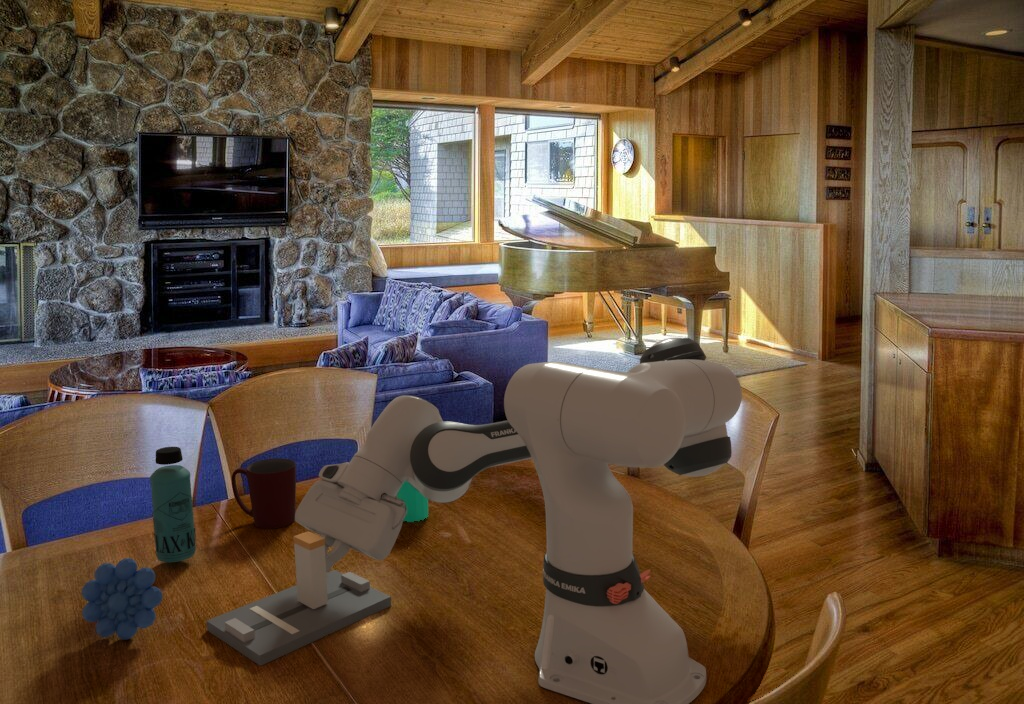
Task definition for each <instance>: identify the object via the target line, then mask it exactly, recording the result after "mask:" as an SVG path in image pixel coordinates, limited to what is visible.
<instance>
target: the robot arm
mask: <svg viewBox="0 0 1024 704" xmlns="http://www.w3.org/2000/svg"><path fill="white" fill-rule="evenodd" d="M706 359H707V355H706V354H705V352H704V350H703V348H702V347H701V345H700V344H699V343H698V342H696V341H695V340H693V339H691V338H689V337H668V338H665V339H661V340H659V341H658V342H656V343H654V344H652V346H650V347H649V348H647V349H645V350H644V352H643V353H642V355H641V356H640V359H639V363H638V364H636V365H634V366H633V367H631V368H630V369H629V370H627V372H626V371H617V370H609V369H602V368H595V367H590V366H584V365H579V364H573V363H568V362H563V361H544V362H535V363H528V364H525V365H524V366H522V367H520V368H519V369H517V370H516V372H514V374H513V375H512V376H511V377H510V379H509V381H508V384H507V385H506V389H505V392H504V396H503V398H504V399H503V407H504V409H503V410H504V413H505V417H506V419H507V420H503V421H496V422H493V423H492V422H491V423H487V424H467V423H462V422H457V421H451V420H450V421H447V420H446V421H444V420H443V419H442V416H441V415H440V411H439V409H438V408H437V406H435V405H434V404H433V403H431V402H430V401H428V400H427V399H424V398H422V397H419V396H415V395H411V394H410V395H409V394H407V395H406V394H405V395H404V394H403V395H400V396H397V397H395V398H394V399H393V400H391V401H390V402H389V403H388V404H387V405H386V406H385V407H384V409H383V410H382V411H381V413H380V414H379V415H378V417H377V419H376V420H375V422H374V423H373V424H372V426H371V427H370V429H369V430H368V432H367V435H366V439H365V441H364V444H363V445H362V446H361V447H360V449H359V450H358V451H357V452H356V453H355V454H354V455H353V456H352V458H351V459H350V461H349V462H348V461H347V462H341V463H336V464H326V465H324V466H323V467H322V468H321V469H320V471H319V472H318V478H320V479H319V480H317V481H315V482H314V483H313V484H312V485H311V486H310V487H309V489H308V491H307V492H306V494H305V495H304V497H303V498H302V500H301V502H300V503H299V505H298V506H297V508H296V509H295V520H294V522H296V523H297V524H299V525H300V526H302V527H304V528H305V529H307V531H310V532H312V533H313V532H314V534H316V535H318V536H321V537H323V538H325V560H326V573H328V572H330V571H332V568H333V566H334V565H335V564H336V563H337V562H339V561H340V560H342V558H344V557H345V556H347V554H348V552H349V551H350V549H351V550H353V551H356V552H358V553H360V554H363V555H365V556H368V557H370V558H371V559H374V560H376V561H379V562H380V561H383V560H384V559H386V558H388V556H389V555H390V553H391V551H392V549H393V547H394V546H395V543H396V541H397V538H398V536H399V534H400V531H401V529H402V527H403V522H404V521H403V520H404V518H405V516H406V514H407V508H406V505H405V502H404V501H403V500H401V499H397V493H398V491H399V490H400V488H401V486H402V485H403V483H404V482H405V481H407V482H408V483H409V484H410V485H412V486H413V487H414V488H415V489H416V490H417V491H419V492H420V493H421V494H422V495H423V496H424V497H426V498H427V499H428V501H432V502H435V503H438V504H449V503H452V502H455V501H458V500H459V499H461V497H463V496H464V495H465V494H466V493H467V491H468V489H469V488H470V486H471V484H472V481H473V479H474V477H475V476H476V475H477V476H478V474H480V472H483V471H484V470H486V469H487V470H488V469H489V468H493V467H497V466H502V465H507V464H508V465H509V464H511V463H516V462H522V461H527V460H532V462H533V464H534V467H535V471H536V473H537V475H538V479H539V482H540V486H541V489H542V494H543V499H544V501H543V502H544V507H545V510H544V511H545V526H546V527H545V528H546V533H545V534H546V552H545V553H544V554H543V563H542V564H543V567H542V576H543V577H542V581H543V585H544V587H545V599H544V609H543V617H542V623H541V630H540V634H539V638H538V643H537V645H536V648H535V650H534V660H535V664H536V665H537V668H538V670H539V671H538V678H537V679H538V680H537V681H538V685H539V687H542V688H544V689H546V690H550V691H552V692H555V693H558V694H562V695H564V696H568V697H570V698H575V699H577V700H579V701H583V702H586V703H589V704H690V703H692V701H694V700H695V699H696V698H697V697H698V696H699V695H700V694H701V692H702V691H703V690H704V688H705V687H706V683H707V679H708V678H707V669H706V666H704V665H703V664H701V663H700V662H699V661H696V660H694V659H693V658H691V657H689V656H690V655H689V649H688V642H687V638H686V635H685V631H684V630H683V628H682V627H681V626H680V625H679V624H678V623H677V622H676V621H675V619H673V618H672V617H671V616H670V615H669V613H668V612H667V611H666V610H665V609H663V607H662V606H660V604H659V603H658V602H657V601H656V600H655V599H654V598H653V596H652V595H650V594H649V592H648V591H647V590H646V589H645V584H644V582H646V581H647V580H649V579H650V578H651V575H649V574H650V573H651V571H652V570H651V569H650V568H648V569H646V570H645V571H643V572H642V573H641V571H640V569H639V568H640V567H639V565H638V562H637V559H636V558H635V555H634V554H633V539H634V537H633V536H634V535H633V534H634V528H633V527H634V507H633V501H632V498H631V496H630V494H629V493H628V491H627V490H626V488H625V487H624V486H623V485H622V483H621V482H620V481H619V480H618V479H617V478H616V477H615V475H614V474H613V472H612V470H611V469H610V466H609V465H615V466H619V467H629V468H658V467H659V468H660V467H662V466H664V467H665V468H666V469H667V470H668V471H671V472H672V473H674V474H676V475H679V476H687V477H692V478H693V477H695V478H696V477H697V478H698V477H704V476H708V475H710V474H713V473H714V472H716V471H718V470H719V469H720V468H722V467H723V466H724V464H727V463H729V461H730V459H731V458H732V455H733V454H732V441H731V436H728V430H727V422H729V421H730V420H731V419H733V418H734V416H735V415H736V414H737V413H738V411H739V409H740V407H741V405H742V397H743V392H742V386H741V383H740V381H739V378H738V377H737V376H736V375H735V373H734V372H733V371H732V370H731V369H730V368H729V367H727V366H725V365H723V364H721V363H717V362H714V361H709V360H706ZM402 507H404V508H402ZM332 547H333V548H332ZM329 548H332V549H331V550H330V551H329ZM328 551H329V552H328Z"/></svg>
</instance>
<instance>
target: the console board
mask: <svg viewBox="0 0 1024 704" xmlns="http://www.w3.org/2000/svg"><path fill="white" fill-rule="evenodd" d="M326 578H327V596H328V603H327V604H325V605H323V606H320V607H318V608H316V609H312V608H310V607H308V606H306V605H304V604H303V603H301V602H299V601H298V596H297V584H295V585H293V586H289V587H288V588H285V589H283V590H280V591H278V592H275V593H273V594H271V595H268V596H266V597H263V598H260V599H257V600H255V601H252V602H250V603H248V604H245V605H243V606H240V607H237V608H234V609H233V610H230V611H227V612H225V613H222V614H219V615H217V616H214V617H212V618H209V619H207V620H206V629H207V630H206V631H208V632H209V633H210V634H212V635H213V636H215V637H216V638H218V639H220V640H221V641H223V643H225V644H227V645H228V646H230V647H231V648H233V649H234V650H236V651H237V652H239V653H240V654H242V655H243V656H245V657H246V658H248V659H249V660H250V661H252V662H254V663H256V665H258V666H260V667H261V666H263V665H266V664H269V663H270V662H272V661H275V660H277V659H279V658H281V657H283V656H285V655H288V654H290V653H292V652H295V651H297V650H299V649H301V648H303V647H305V646H308V645H310V644H312V643H313V642H316V641H318V640H321V639H322V638H325V637H326V636H328V634H329V635H331V634H333V633H336V632H338V631H340V630H342V629H344V628H347V627H349V626H350V625H353V624H355V623H357V622H359V621H362V620H363V619H366V618H368V617H370V616H373V615H375V614H377V613H379V612H381V611H383V610H385V609H387V608H390V607H392V596H390V595H389V594H387V593H384V592H382V591H380V590H378V589H376V588H374V587H371V583H370V580H368V579H366V578H364V577H362V576H359V575H358V574H356V573H353V572H351V571H347V572H346V573H343V572H340V571H338V570H337V569H334V570H330V571H329V572H326ZM337 630H338V631H337ZM335 631H336V632H335ZM324 636H325V637H324Z"/></svg>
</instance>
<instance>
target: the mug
mask: <svg viewBox="0 0 1024 704" xmlns="http://www.w3.org/2000/svg"><path fill="white" fill-rule="evenodd" d="M296 465H297V464H296V461H294V460H292V459H290V458H289V459H288V458H280V457H279V458H267V459H261V460H257V461H255V462H251V463H250V464H248V465H246V468H243V467H239V468H236V469H234V471H233V472H232V474H231V486H232V492H233V496H234V498H235V500H236V503H237V504H238V506H239V507H240V509H241V510H242V511H243V512H244V513H245V514H246V515H248V516H249V517H251V518H253V524H254V526H255V527H258V528H260V529H269V530H270V529H278V528H283V527H287V526H289V525H291V524H293V523H294V522H295V513H296V501H297V499H296V495H297V493H296V492H297V468H296ZM237 474H243V475H244V476H246V479H247V486H248V493H249V498H250V505H251V508H249V507H247V505H246V504H245V503H244V502H243V499H241V495H240V494H239V491H238V487H237V482H236V475H237Z"/></svg>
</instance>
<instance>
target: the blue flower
mask: <svg viewBox="0 0 1024 704" xmlns="http://www.w3.org/2000/svg"><path fill="white" fill-rule="evenodd" d="M93 576H94V579H91V580H89V581H87V582H86V583H85V584H83V585H84V586H83V587H82V588H81V593H80V594H81V595H82V599H83V600H85V601H87V603H86V604H85V605H84V607H83V608H82V612H81V615H82V618H83V620H84V621H86V622H88V623H96V624H95V628H94V629H95V632H96V633H97V636H100V637H102V638H109V637H111V636H113V635H114V634H115V633H116V637H117V638H118V639H120V640H122V641H123V640H124V641H125V640H127V641H128V640H130V639H131V638H133V637H135V635H136V634H137V632H138V629H147V628H149V627H150V626H152V625H153V624H154V623H155V621H156V615H157V614H156V612H155V610H154V608H156V607H158V606H159V605H160V604H161V603H162V601H163V596H164V595H163V592H162V590H161V589H160V588H159V587H157V586H153V584H155V581H156V573H155V571H154V570H153V569H152V568H151V567H141V568H140V569H138V564H137V562H136V560H134V559H132V557H125V558H122V559H121V560H119V562H117V564H116V565H114V564H112V563H111V562H104V563H102V564H101V565H99V566H98V567H97V568H96V570H95V571H94V575H93Z"/></svg>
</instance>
